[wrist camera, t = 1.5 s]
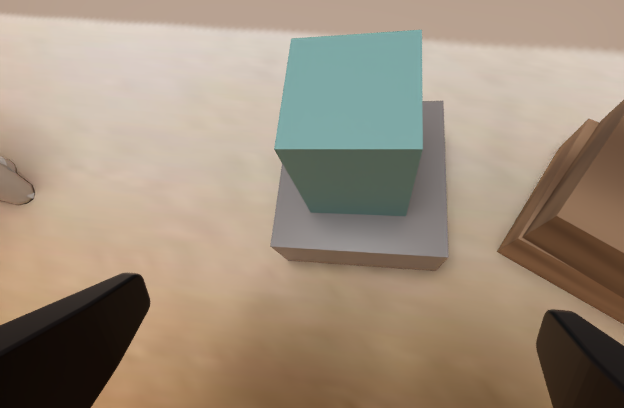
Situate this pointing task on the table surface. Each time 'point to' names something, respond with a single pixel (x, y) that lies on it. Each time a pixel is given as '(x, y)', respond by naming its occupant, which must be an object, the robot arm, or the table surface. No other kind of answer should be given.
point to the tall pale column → (13, 184)
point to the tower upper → (589, 209)
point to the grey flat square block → (374, 218)
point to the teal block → (353, 121)
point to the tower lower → (544, 261)
